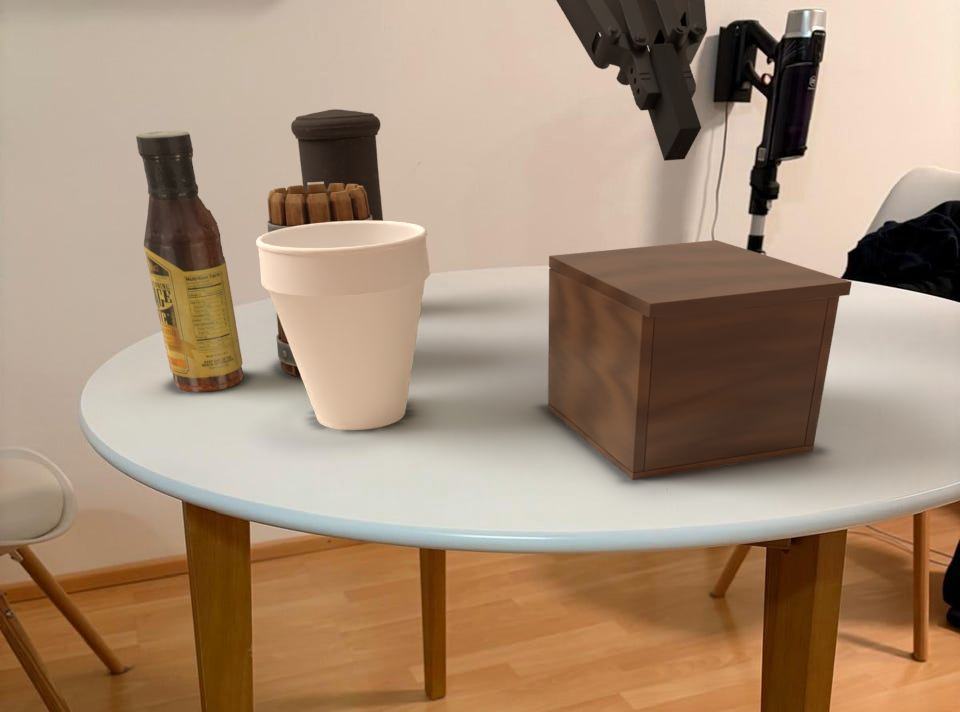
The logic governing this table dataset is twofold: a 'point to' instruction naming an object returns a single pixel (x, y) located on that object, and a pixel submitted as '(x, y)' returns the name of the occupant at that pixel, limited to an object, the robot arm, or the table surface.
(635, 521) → the table surface
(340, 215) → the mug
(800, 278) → the lid
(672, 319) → the chest
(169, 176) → the sauce bottle
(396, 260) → the white flower pot
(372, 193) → the container
